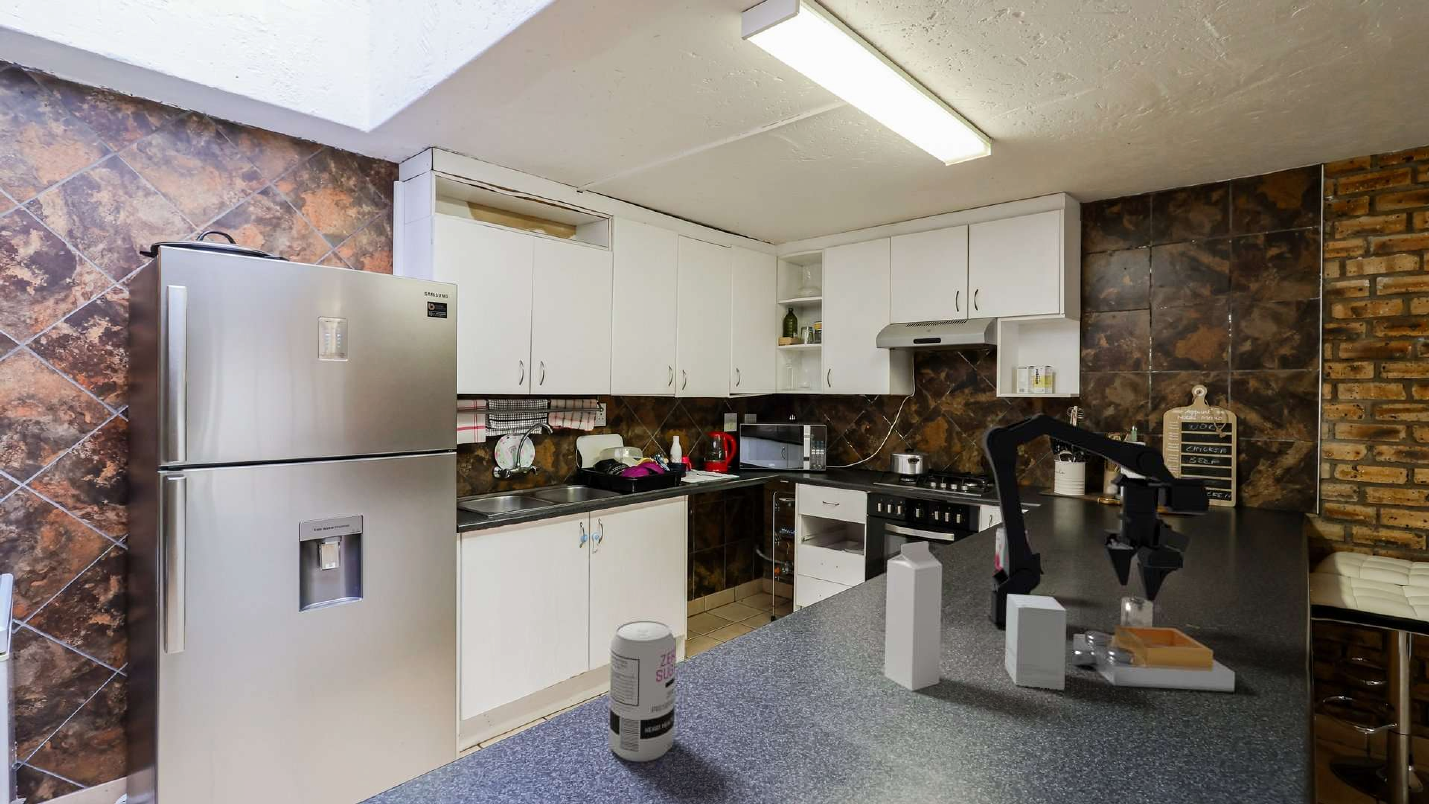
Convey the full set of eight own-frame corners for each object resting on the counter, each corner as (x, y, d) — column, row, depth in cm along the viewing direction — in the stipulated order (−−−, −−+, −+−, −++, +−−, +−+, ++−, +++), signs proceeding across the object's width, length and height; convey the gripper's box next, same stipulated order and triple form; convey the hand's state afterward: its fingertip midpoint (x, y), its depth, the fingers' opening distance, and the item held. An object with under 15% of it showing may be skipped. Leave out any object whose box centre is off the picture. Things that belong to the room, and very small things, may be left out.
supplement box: (1065, 691, 103) (1068, 610, 102) (1014, 686, 104) (1016, 606, 104) (1051, 671, 110) (1053, 596, 110) (1003, 667, 111) (1005, 592, 111)
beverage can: (991, 597, 149) (993, 530, 149) (997, 590, 155) (999, 526, 154) (1023, 603, 145) (1025, 535, 145) (1028, 595, 151) (1030, 530, 151)
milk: (939, 684, 105) (944, 545, 104) (911, 692, 102) (916, 549, 101) (910, 669, 110) (915, 537, 109) (883, 676, 107) (887, 540, 106)
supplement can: (611, 730, 88) (613, 619, 88) (673, 729, 89) (675, 618, 89) (606, 765, 80) (608, 642, 80) (674, 763, 81) (676, 641, 81)
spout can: (1129, 642, 124) (1130, 601, 124) (1115, 632, 129) (1116, 593, 128) (1169, 644, 123) (1170, 603, 123) (1153, 634, 128) (1155, 595, 128)
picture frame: (1094, 684, 105) (1095, 650, 105) (1056, 649, 119) (1057, 619, 119) (1234, 691, 104) (1235, 656, 104) (1178, 655, 118) (1179, 624, 118)
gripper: (1218, 522, 115) (1214, 611, 116) (1155, 503, 134) (1152, 580, 134) (1151, 520, 116) (1147, 608, 117) (1098, 501, 135) (1095, 577, 135)
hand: (1136, 592), depth 126 cm, fingers open, 9 cm apart
